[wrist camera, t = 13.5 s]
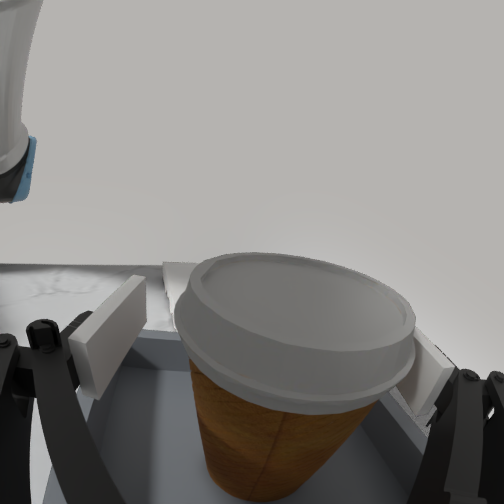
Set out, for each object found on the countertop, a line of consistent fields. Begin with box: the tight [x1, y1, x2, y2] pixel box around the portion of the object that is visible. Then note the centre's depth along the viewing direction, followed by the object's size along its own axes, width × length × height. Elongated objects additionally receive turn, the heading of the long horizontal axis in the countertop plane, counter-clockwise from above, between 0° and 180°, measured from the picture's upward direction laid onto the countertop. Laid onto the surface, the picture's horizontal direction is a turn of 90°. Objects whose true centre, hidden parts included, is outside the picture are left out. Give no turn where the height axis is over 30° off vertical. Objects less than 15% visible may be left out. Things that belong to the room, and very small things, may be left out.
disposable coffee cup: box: [174, 252, 416, 502], centre depth 12 cm, size 10×10×12 cm
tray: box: [43, 329, 428, 504], centre depth 13 cm, size 20×20×4 cm
